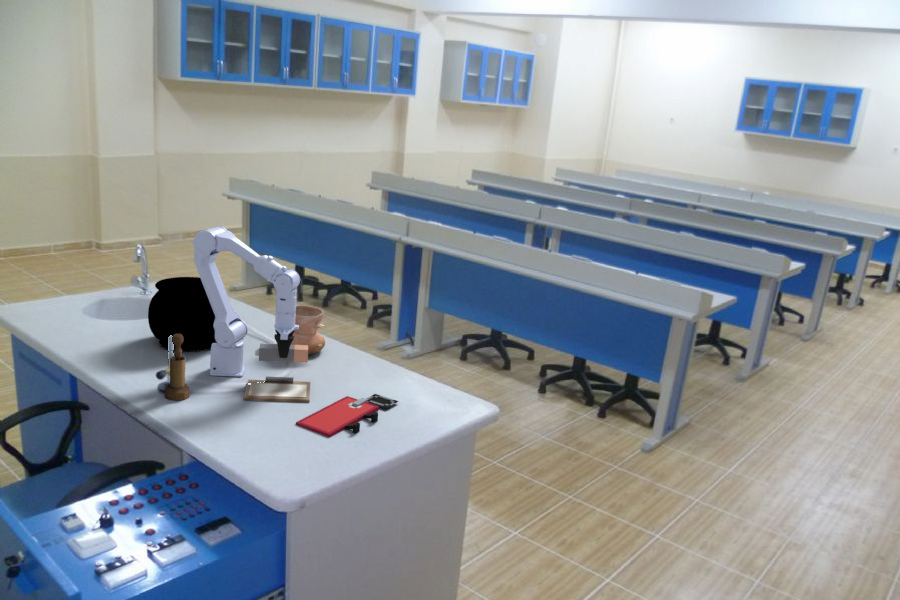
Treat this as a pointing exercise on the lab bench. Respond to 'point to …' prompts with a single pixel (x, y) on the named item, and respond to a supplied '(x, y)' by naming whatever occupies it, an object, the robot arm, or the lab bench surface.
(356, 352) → the lab bench surface
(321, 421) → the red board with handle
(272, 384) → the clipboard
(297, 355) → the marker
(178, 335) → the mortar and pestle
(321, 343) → the ceramic jug
